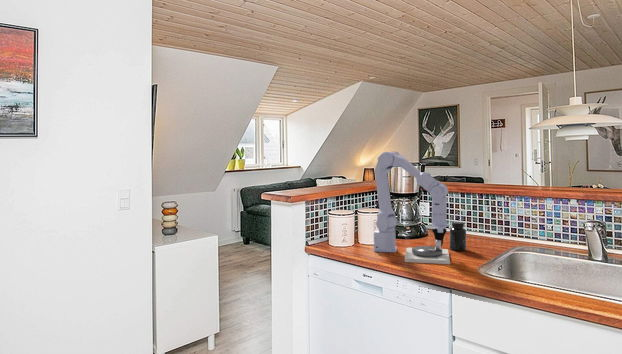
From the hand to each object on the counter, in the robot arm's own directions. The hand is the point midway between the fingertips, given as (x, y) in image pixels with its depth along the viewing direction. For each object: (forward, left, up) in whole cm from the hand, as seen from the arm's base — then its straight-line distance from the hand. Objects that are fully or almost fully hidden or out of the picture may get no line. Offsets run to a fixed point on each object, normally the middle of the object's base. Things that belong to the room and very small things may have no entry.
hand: (439, 246), depth 156 cm
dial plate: (-5, -1, -5) cm, 7 cm away
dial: (-5, -1, -3) cm, 6 cm away
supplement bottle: (+8, +14, -5) cm, 17 cm away
